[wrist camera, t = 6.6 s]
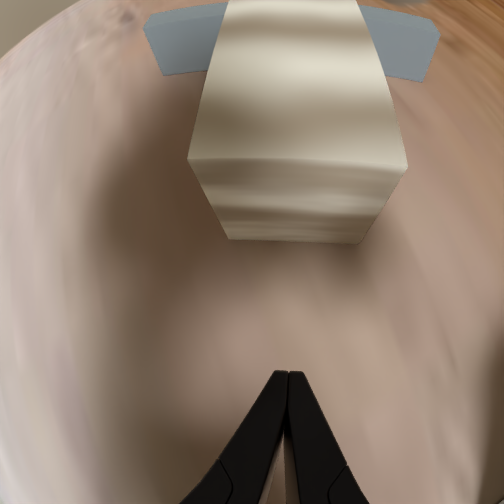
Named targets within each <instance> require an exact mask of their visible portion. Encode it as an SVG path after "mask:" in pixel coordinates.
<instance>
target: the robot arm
mask: <svg viewBox="0 0 504 504" xmlns="http://www.w3.org/2000/svg"><path fill="white" fill-rule="evenodd" d="M283 432H284V436H283ZM282 439H283V441H284V464H285V487H286V504H369V502H368V501H367V499H366V497H365V496H364V494H363V493H362V491H361V489H360V487H359V486H358V484H357V482H356V480H355V478H354V476H353V474H352V472H351V470H350V468H349V466H348V465H347V462H346V460H345V458H344V456H343V454H342V452H341V449H340V447H339V445H338V443H337V441H336V439H335V437H334V435H333V433H332V431H331V429H330V426H329V424H328V422H327V420H326V418H325V416H324V414H323V412H322V410H321V408H320V406H319V403H318V401H317V399H316V397H315V395H314V393H313V391H312V389H311V387H310V385H309V382H308V380H307V378H306V376H305V374H304V373H303V372H302V371H290V372H289V373H288V371H283V370H275V371H274V372H273V373H272V375H271V377H270V378H269V380H268V382H267V383H266V385H265V387H264V388H263V390H262V392H261V393H260V395H259V396H258V398H257V400H256V401H255V403H254V404H253V406H252V407H251V409H250V411H249V412H248V414H247V415H246V417H245V418H244V420H243V421H242V423H241V424H240V426H239V428H238V429H237V431H236V432H235V434H234V435H233V437H232V438H231V440H230V441H229V442H228V444H227V445H226V447H225V448H224V450H223V451H222V453H221V454H220V456H219V457H218V458H219V459H217V460H216V461H215V463H214V464H213V465H212V467H211V468H210V470H209V471H208V472H207V473H206V475H205V476H204V477H203V478H202V480H201V481H200V482H199V483H198V484H197V486H196V487H195V488H194V489H193V490H192V491H191V492H190V493H189V494H188V495H187V496H186V497H185V498H184V499H183V500H182V501H181V502H180V503H179V504H266V502H267V498H268V495H269V491H270V487H271V484H272V480H273V476H274V472H275V468H276V464H277V460H278V456H279V452H280V448H281V444H282ZM346 465H347V466H346Z"/></svg>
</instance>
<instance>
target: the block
mask: <svg viewBox="0 0 504 504" xmlns="http://www.w3.org/2000/svg"><path fill="white" fill-rule="evenodd" d="M187 160H188V162H189V164H190V166H191V168H192V170H193V172H194V174H195V176H196V178H197V180H198V182H199V184H200V185H201V187H202V189H203V191H204V193H205V195H206V197H207V199H208V201H209V203H210V205H211V207H212V209H213V210H214V212H215V214H216V216H217V218H218V220H219V222H220V224H221V226H222V228H223V230H224V231H225V233H226V235H227V237H228V239H237V240H266V241H294V242H320V243H344V244H359V243H360V241H361V240H362V238H363V237H364V235H365V234H366V232H367V231H368V229H369V228H370V226H371V225H372V223H373V222H374V220H375V219H376V217H377V216H378V214H379V213H380V211H381V210H382V208H383V206H384V205H385V203H386V202H387V200H388V199H389V197H390V195H391V194H392V192H393V191H394V189H395V187H396V186H397V184H398V182H399V181H400V179H401V178H402V176H403V174H404V173H405V171H406V169H407V168H408V165H407V160H406V155H405V150H404V145H403V141H402V136H401V132H400V128H399V124H398V120H397V116H396V112H395V109H394V105H393V101H392V98H391V94H390V91H389V88H388V84H387V81H386V78H385V75H384V72H383V69H382V66H381V63H380V60H379V57H378V54H377V51H376V49H375V46H374V43H373V41H372V38H371V35H370V33H369V30H368V28H367V25H366V23H365V21H364V18H363V16H362V14H361V11H360V9H359V7H358V4H357V2H356V0H229V2H228V5H227V8H226V11H225V14H224V18H223V21H222V24H221V27H220V31H219V34H218V37H217V41H216V44H215V47H214V51H213V54H212V58H211V61H210V65H209V69H208V72H207V76H206V80H205V84H204V88H203V92H202V96H201V100H200V104H199V108H198V112H197V116H196V121H195V125H194V129H193V134H192V138H191V143H190V148H189V152H188V157H187Z"/></svg>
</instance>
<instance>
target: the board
mask: <svg viewBox="0 0 504 504" xmlns="http://www.w3.org/2000/svg"><path fill="white" fill-rule="evenodd" d="M227 5H228V2H225V3H216V4H208V5H200V6H193V7H187V8H181V9H176V10H170V11H165V12H161V13H156V14H151V16H150V17H149V19H148V21H147V22H146V24H145V25H144V27H143V30H144V33H145V35H146V37H147V40H148V42H149V44H150V47H151V49H152V51H153V53H154V56H155V58H156V60H157V63H158V65H159V67H160V70H161V72H162V74H163V76H165V75H172V74H179V73H188V72H197V71H207V70H208V69H209V65H210V61H211V58H212V54H213V51H214V47H215V44H216V41H217V37H218V34H219V31H220V27H221V24H222V21H223V18H224V14H225V11H226V8H227ZM358 7H359V9H360V11H361V14H362V16H363V18H364V21H365V23H366V25H367V28H368V30H369V33H370V35H371V38H372V41H373V43H374V46H375V49H376V51H377V54H378V57H379V60H380V63H381V66H382V69H383V72H384V75H385V76H391V77H397V78H403V79H408V80H413V81H418V82H423V79H424V77H425V74H426V72H427V69H428V67H429V64H430V61H431V59H432V56H433V54H434V51H435V48H436V45H437V43H438V40H439V37H440V33H439V31H438V30H437V28H436V27H435V25H434V24H433V22H432V21H431V20H430V19H426V18H422V17H418V16H414V15H410V14H406V13H401V12H396V11H392V10H386V9H381V8H375V7H369V6H362V5H358Z"/></svg>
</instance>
